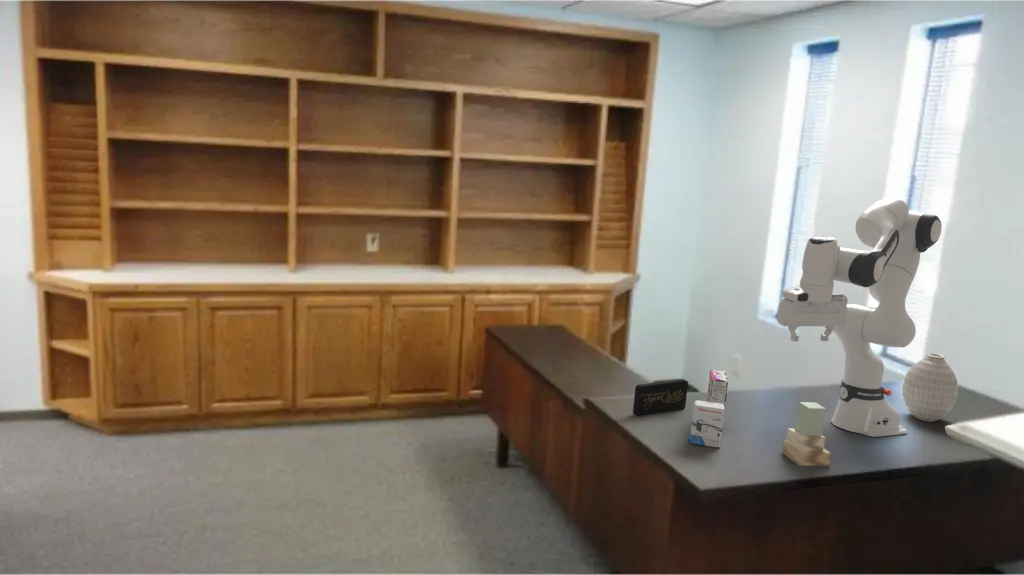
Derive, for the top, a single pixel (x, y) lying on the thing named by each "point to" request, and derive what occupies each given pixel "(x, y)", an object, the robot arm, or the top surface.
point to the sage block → (810, 419)
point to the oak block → (807, 456)
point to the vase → (930, 388)
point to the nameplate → (660, 397)
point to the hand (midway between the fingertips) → (809, 340)
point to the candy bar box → (717, 387)
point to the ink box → (707, 423)
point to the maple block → (805, 441)
